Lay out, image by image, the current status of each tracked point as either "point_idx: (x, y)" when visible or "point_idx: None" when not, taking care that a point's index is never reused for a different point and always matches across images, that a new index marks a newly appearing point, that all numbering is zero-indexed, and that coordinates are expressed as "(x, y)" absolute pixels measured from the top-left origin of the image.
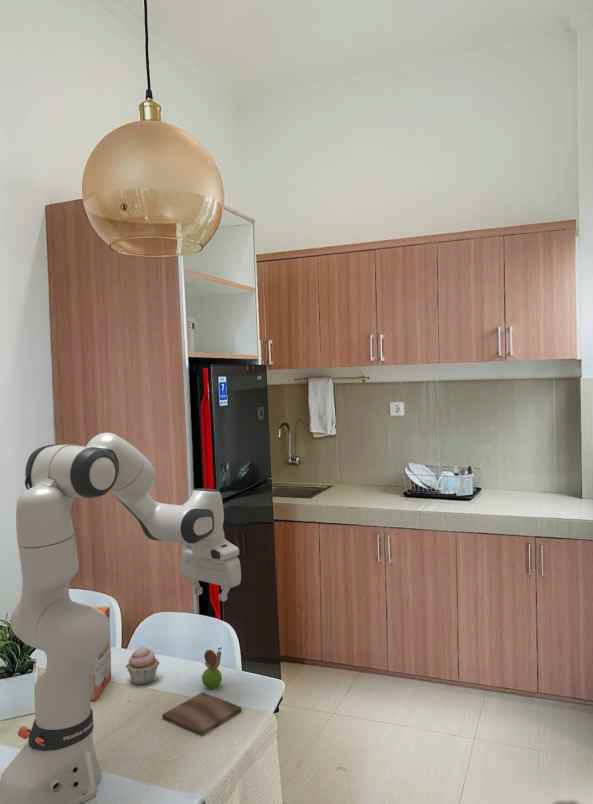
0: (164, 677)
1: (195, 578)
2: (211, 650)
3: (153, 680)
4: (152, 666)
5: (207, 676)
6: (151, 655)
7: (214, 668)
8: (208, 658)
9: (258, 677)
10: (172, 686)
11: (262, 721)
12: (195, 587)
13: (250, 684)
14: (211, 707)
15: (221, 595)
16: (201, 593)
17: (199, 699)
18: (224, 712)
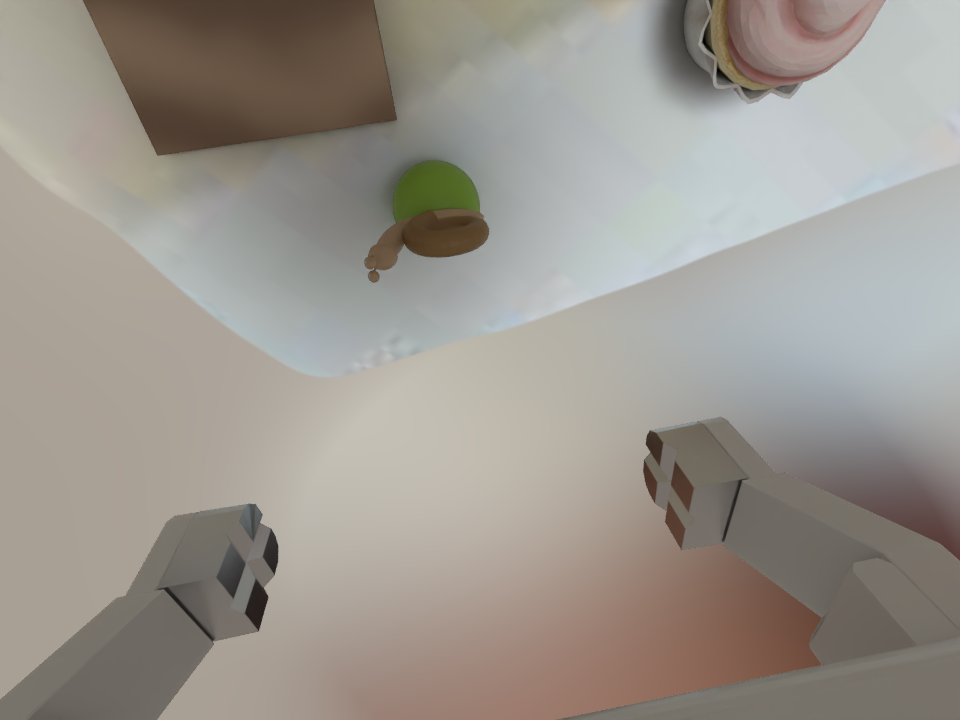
0: (665, 108)
1: (861, 696)
2: (442, 250)
3: (686, 45)
4: (715, 18)
5: (421, 176)
6: (766, 27)
7: (408, 217)
8: (458, 227)
9: (382, 358)
10: (574, 78)
11: (36, 162)
12: (757, 496)
13: (356, 312)
14: (231, 46)
15: (146, 587)
16: (645, 474)
17: (341, 57)
18: (146, 60)
